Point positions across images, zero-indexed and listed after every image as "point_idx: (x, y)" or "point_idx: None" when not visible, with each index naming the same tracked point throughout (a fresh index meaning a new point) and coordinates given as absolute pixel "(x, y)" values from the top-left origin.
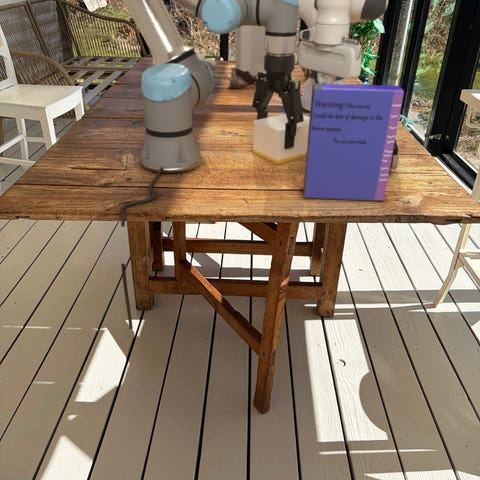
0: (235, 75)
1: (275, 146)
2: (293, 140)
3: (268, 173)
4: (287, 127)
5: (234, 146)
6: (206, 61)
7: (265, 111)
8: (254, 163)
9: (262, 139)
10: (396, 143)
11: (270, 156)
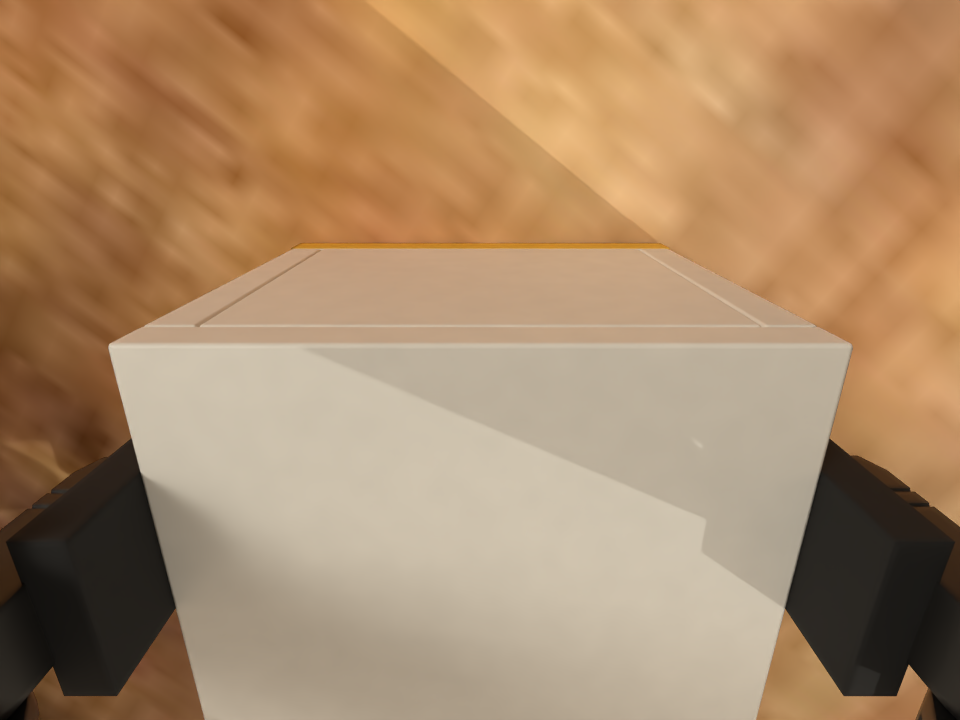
0: None
1: (282, 275)
2: None
3: (136, 15)
4: (56, 502)
5: (896, 189)
6: None
7: (887, 675)
8: (420, 65)
9: (534, 278)
10: None
11: (389, 249)
